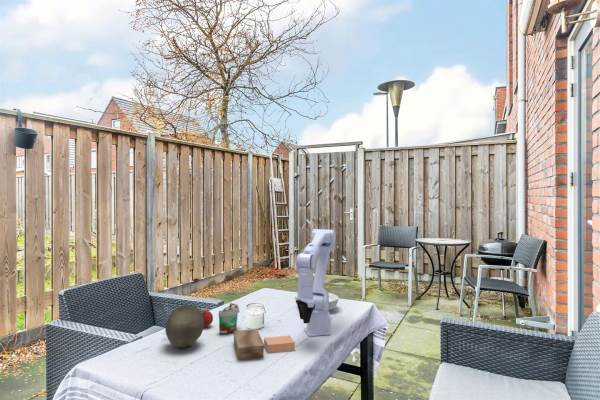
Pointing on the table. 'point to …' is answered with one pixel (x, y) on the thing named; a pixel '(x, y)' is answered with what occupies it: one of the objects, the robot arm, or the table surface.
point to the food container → (228, 319)
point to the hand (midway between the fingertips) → (304, 320)
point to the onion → (207, 317)
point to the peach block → (279, 344)
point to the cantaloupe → (184, 325)
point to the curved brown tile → (248, 344)
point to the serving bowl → (332, 301)
